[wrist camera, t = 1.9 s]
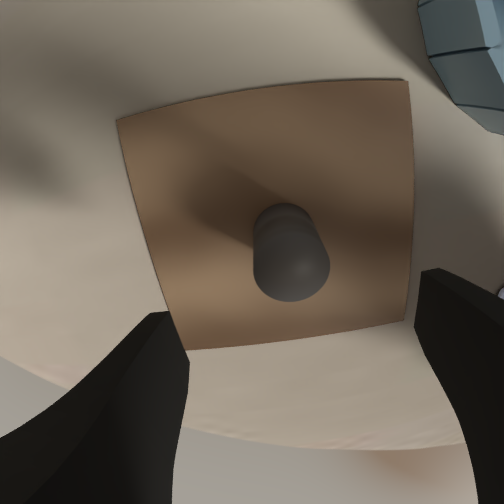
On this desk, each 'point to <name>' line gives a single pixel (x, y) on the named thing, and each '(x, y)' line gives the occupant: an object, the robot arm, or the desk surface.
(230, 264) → the walnut lid
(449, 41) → the ceramic bowl
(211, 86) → the desk surface
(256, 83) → the desk surface
